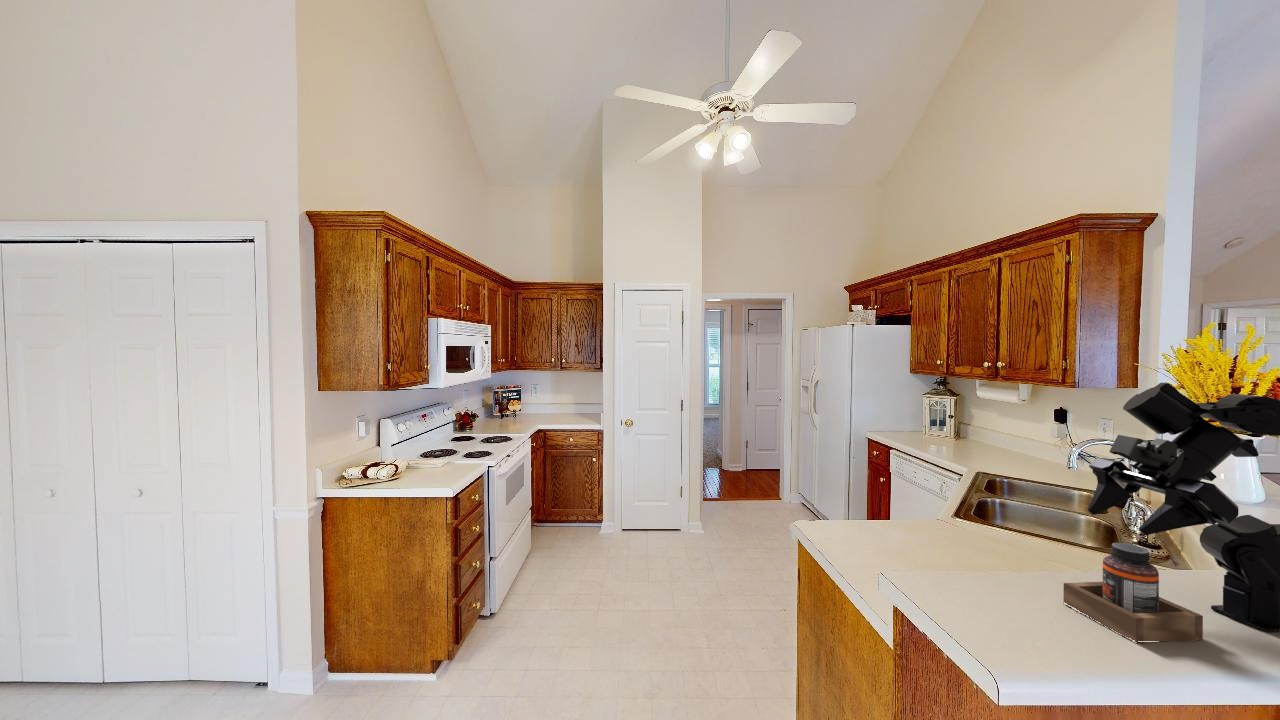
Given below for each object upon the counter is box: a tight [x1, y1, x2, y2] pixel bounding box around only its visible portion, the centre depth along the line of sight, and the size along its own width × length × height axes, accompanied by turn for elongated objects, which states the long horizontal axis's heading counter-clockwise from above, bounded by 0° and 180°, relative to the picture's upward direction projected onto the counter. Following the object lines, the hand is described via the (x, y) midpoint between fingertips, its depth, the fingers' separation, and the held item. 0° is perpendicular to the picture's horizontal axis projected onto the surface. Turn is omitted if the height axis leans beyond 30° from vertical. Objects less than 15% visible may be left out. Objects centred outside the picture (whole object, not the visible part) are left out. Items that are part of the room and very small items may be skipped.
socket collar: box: [1063, 581, 1204, 642], centre depth 72 cm, size 10×10×4 cm
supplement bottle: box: [1102, 542, 1160, 613], centre depth 72 cm, size 6×6×11 cm
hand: (1114, 522), depth 76 cm, fingers open, 9 cm apart
